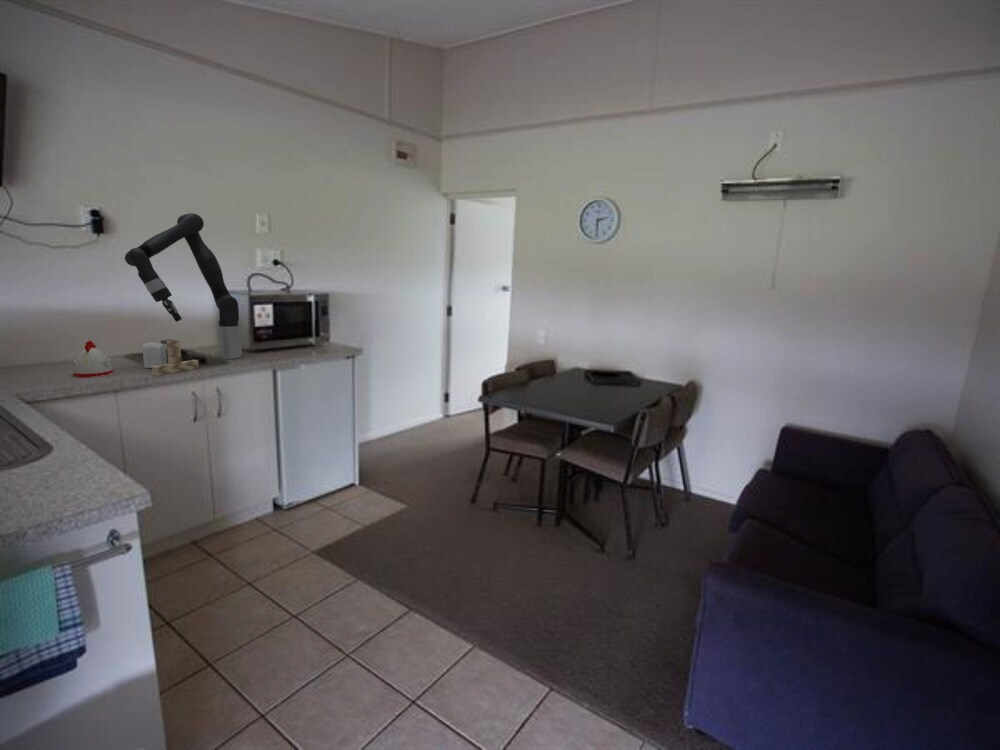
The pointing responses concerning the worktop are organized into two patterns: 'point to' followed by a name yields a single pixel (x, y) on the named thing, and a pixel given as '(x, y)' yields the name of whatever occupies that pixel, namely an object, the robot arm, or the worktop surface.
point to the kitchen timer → (91, 362)
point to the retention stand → (174, 360)
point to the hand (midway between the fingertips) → (179, 320)
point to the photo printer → (154, 354)
